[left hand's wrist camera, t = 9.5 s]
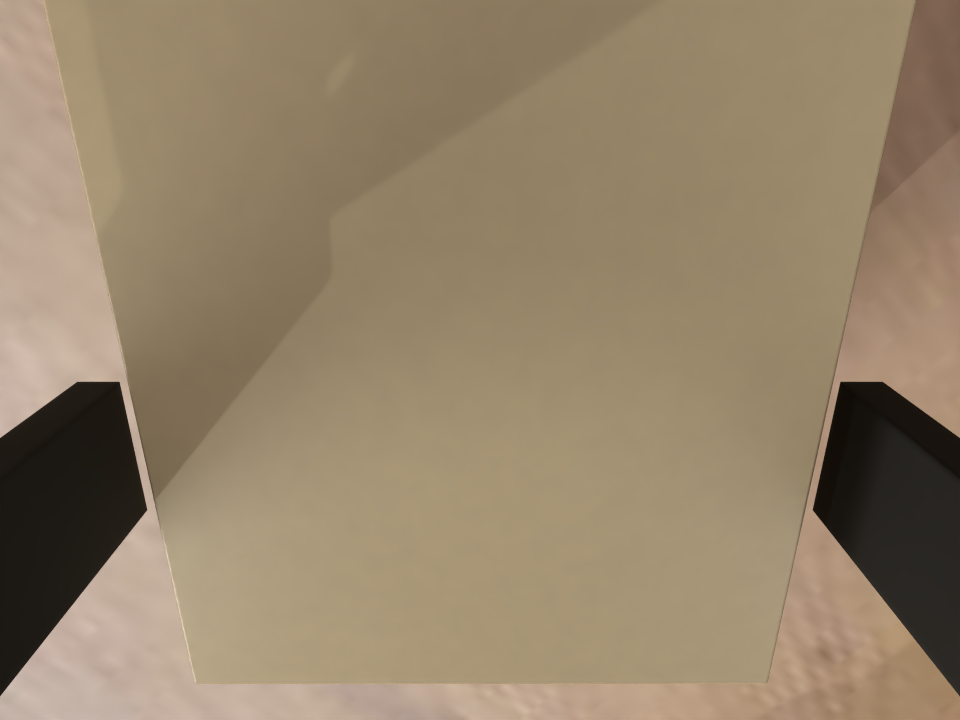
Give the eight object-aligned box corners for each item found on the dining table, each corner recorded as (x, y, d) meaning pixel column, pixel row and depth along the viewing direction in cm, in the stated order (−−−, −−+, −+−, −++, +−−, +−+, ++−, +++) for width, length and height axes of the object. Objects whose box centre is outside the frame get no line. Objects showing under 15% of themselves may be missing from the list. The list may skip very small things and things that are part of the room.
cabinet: (223, -451, 14) (-303, -1531, 5) (735, -453, 14) (1257, -1542, 5) (317, 424, 22) (194, 684, 12) (644, 423, 22) (768, 685, 12)
